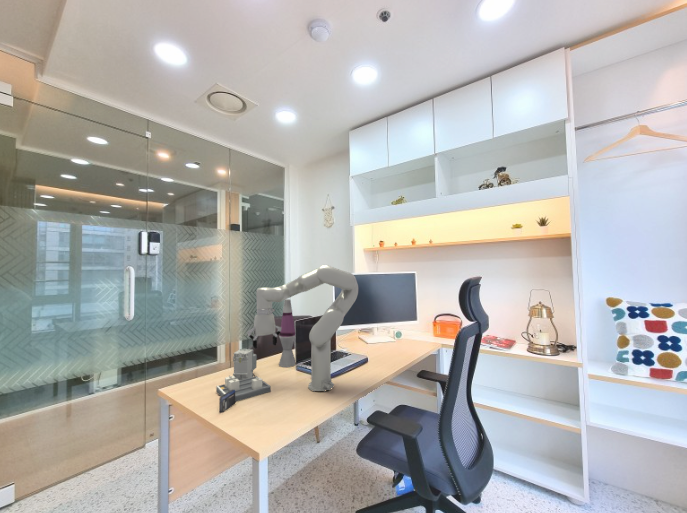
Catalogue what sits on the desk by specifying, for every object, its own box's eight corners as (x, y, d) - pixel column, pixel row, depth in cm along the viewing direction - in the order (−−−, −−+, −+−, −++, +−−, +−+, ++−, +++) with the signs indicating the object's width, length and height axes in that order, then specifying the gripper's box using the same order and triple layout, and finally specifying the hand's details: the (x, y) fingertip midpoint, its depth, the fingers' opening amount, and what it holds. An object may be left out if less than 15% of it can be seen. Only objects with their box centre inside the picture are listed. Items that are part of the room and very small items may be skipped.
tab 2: (239, 389, 135) (239, 379, 135) (230, 391, 132) (230, 381, 133) (237, 387, 137) (237, 377, 138) (228, 389, 135) (228, 379, 135)
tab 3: (262, 387, 136) (262, 377, 137) (254, 390, 134) (254, 380, 134) (259, 385, 139) (259, 376, 139) (251, 388, 136) (251, 378, 136)
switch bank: (270, 391, 137) (270, 385, 138) (227, 404, 125) (227, 397, 125) (256, 381, 151) (256, 375, 151) (216, 391, 138) (216, 385, 138)
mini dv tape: (222, 412, 117) (222, 397, 118) (219, 412, 118) (219, 397, 118) (235, 403, 125) (235, 389, 125) (232, 403, 126) (232, 389, 126)
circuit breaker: (257, 373, 162) (257, 346, 163) (246, 383, 148) (246, 353, 149) (244, 373, 163) (245, 346, 164) (232, 382, 149) (233, 353, 150)
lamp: (281, 361, 183) (281, 298, 185) (298, 361, 182) (298, 298, 184) (276, 367, 172) (276, 300, 174) (293, 367, 171) (293, 300, 173)
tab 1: (235, 385, 139) (235, 376, 139) (226, 387, 137) (227, 378, 137) (233, 383, 142) (233, 374, 142) (224, 386, 139) (225, 376, 139)
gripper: (278, 309, 152) (279, 342, 151) (245, 312, 143) (245, 347, 142) (283, 311, 146) (284, 345, 145) (248, 314, 137) (249, 351, 136)
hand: (265, 346), depth 143 cm, fingers open, 9 cm apart
